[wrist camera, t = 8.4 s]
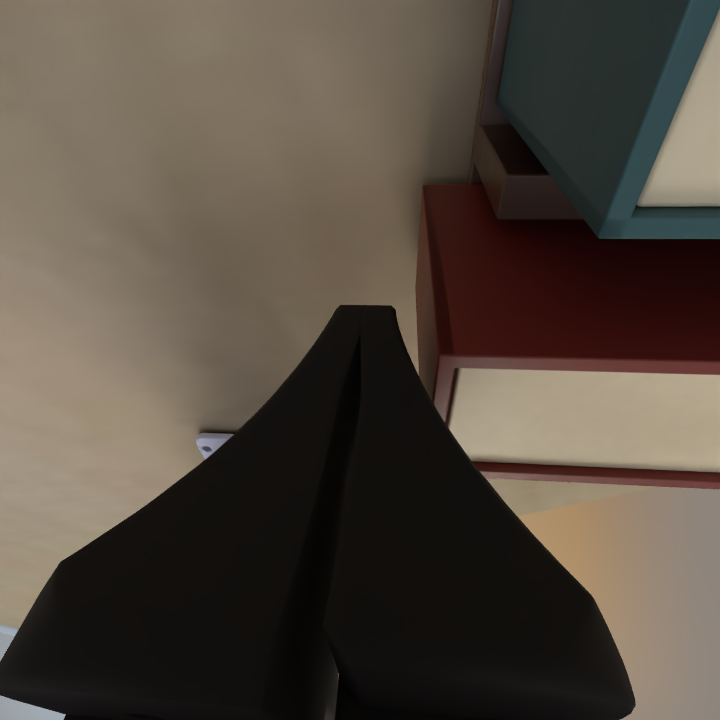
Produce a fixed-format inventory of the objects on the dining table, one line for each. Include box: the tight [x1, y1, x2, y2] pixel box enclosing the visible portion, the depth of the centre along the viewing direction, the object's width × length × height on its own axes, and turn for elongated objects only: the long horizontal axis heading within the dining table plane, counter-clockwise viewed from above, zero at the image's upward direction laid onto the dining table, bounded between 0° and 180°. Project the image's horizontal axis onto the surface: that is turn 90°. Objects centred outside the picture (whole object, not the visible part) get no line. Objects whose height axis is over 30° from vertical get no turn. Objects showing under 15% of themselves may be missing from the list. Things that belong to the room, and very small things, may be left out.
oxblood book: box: [416, 184, 720, 489], centre depth 10 cm, size 4×9×8 cm, turn 92°
